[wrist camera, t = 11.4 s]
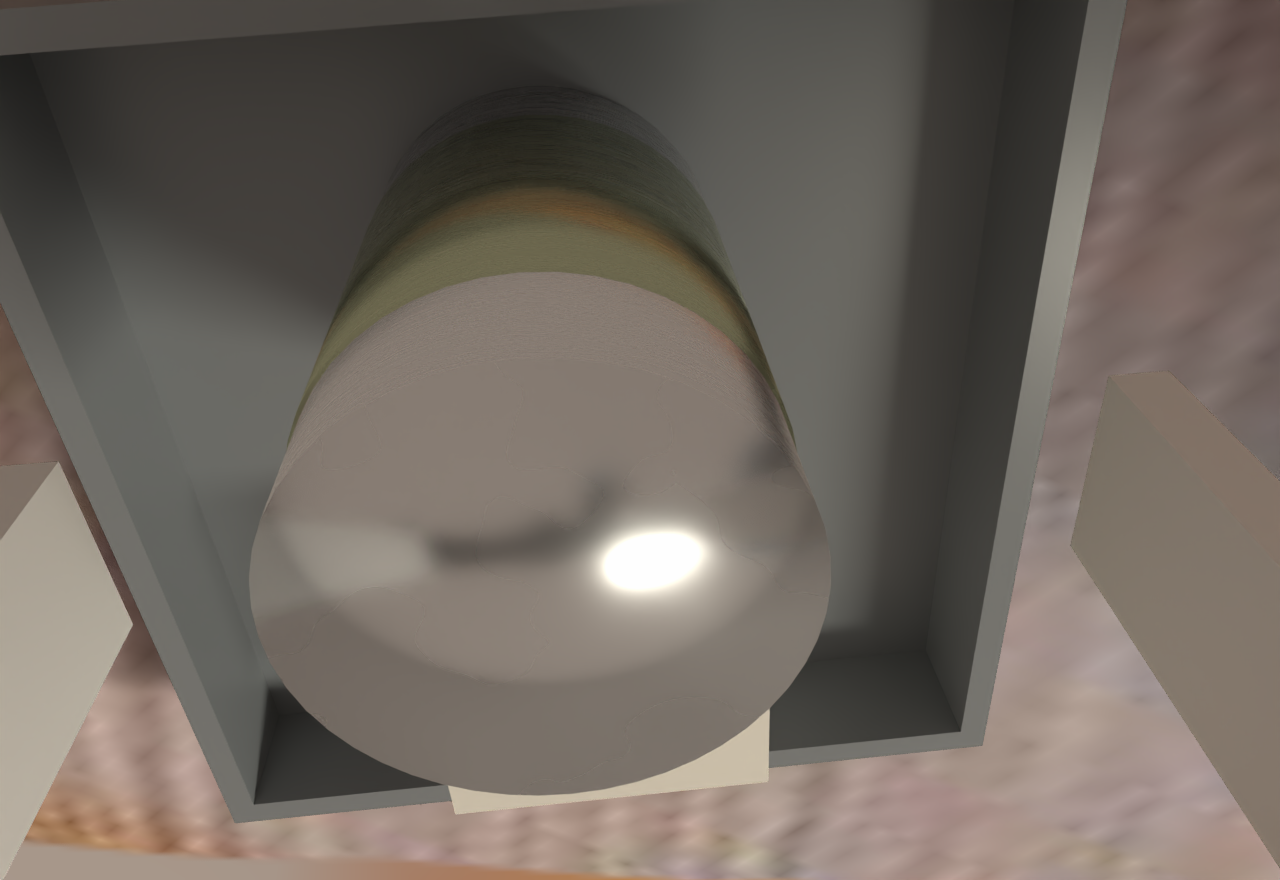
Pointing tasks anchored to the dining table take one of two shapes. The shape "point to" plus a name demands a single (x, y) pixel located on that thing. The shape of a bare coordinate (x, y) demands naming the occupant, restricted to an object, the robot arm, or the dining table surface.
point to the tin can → (540, 470)
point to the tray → (747, 223)
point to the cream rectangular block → (718, 768)
